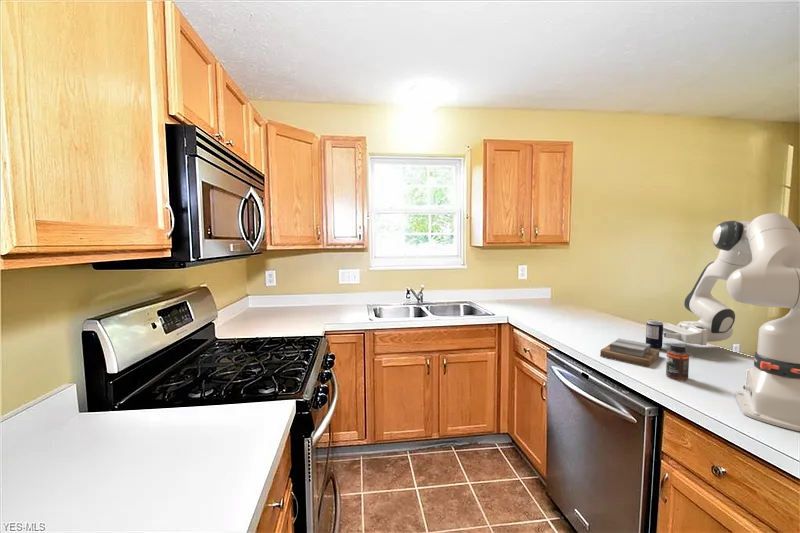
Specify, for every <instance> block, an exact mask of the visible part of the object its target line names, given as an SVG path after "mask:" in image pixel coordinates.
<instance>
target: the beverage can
mask: <svg viewBox="0 0 800 533" xmlns="http://www.w3.org/2000/svg"><path fill="white" fill-rule="evenodd" d="M663 323H664V322H663V321H662V320H660V319H656V318H655V319H650V318H649V319H647V322H646V328H645V343H647V344H651V345H650V349H655V350H661V349H662V348H663V338H664V335H663Z"/></svg>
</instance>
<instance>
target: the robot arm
mask: <svg viewBox="0 0 800 533" xmlns="http://www.w3.org/2000/svg"><path fill="white" fill-rule="evenodd" d="M712 241H713V246H714V247H715V248H717V249H719V252H718V255H717V258H716V259H715V260H714V261H711V262H710V263H708V264H707V265H706V266H705V267H704V268H703V270H702V272H701V273H700V275H699V277H698V279H697V280H696V282H695V284H694V286H693V288H692V289H691V291H690V292H689V293H688V294H687V296H685V299H684V303H683V304H684V307H685V309H686V310H687V311H689V312H690V313H692V314H694V315H695V316H697V317H698V318H699V320H696V321H695V320H687V321H686V320H684V321H679V323H678V324H677V325H676V324H674V323H669V322H662V323H663V338H666V339H673V340H677V341H680V342H683V343H686V344H692V345H701V346H706V345H707V343H713V342H714V343H715V342H721V341H726V340H728V339H730V338H731V337H732V336H733V335H734V334H733V333H734V329H733V326H734V323H735V321H736V313H735V311H734V310H733V309H731V308H730V307H729V306H727V305H726V304H724V303H723V302H721V301H719V300H718V299H717V298H715V297H713V295H712V293H711V292H712V289H713V288H714V286H715V285H716V284H717V281H718V280H723V281H726V284H725V286H726V287H725V288H726V291H727V293H728V295H729V296H730V297H731V298H732V300H734V301H735V302H738V303H742V304H747V305H752V306H756V307H766V308H767V307H770V308H772V307H773V308H783V309H785V308H786V309H790V310H789V312H788V313H787V314H785V315H784V316H782V317H779V318H775V319H773V320H769V321H766V322H765V323H763V324H762V325H761V326H760V327H759V328H758V334H757V348H756V351H755V352H754V355H753V366H752V367H750V368H748V369H747V368H746V376H745V384H744V385H743V387H742V388H743V390H744V391H738V390H737V391H735V392H734V397H735V399H736V401H737V403H738V406H739V408H740V411H741V413H742V415H744V416H747V417H749V418H752V419H754V420H758V421H760V422H764V423H766V424H769V425H774V426H777V427H780V428H785V429H787V430H791V431H796V432H800V226H799V225H795V223H794V222H793V221H792V220H791V219H790V218H789V217H787V215H784V214H782V213H776V212H774V213H773V212H771V213H770V212H769V213H764V214H761V215H758V216H756V217H755V218H753V220H747V221H746V220H741V221H739V220H738V221H737V220H727V221H726V220H725V221H722V222H721V223H719V224H718V225H717V226H716V228H715V229H714V231H713V232H712Z"/></svg>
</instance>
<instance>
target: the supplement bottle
mask: <svg viewBox="0 0 800 533" xmlns="http://www.w3.org/2000/svg"><path fill="white" fill-rule="evenodd" d="M686 346H687V345H685V344H681V343H673V342H672V343H670V348H669V349H668V350H667V351H666V363H665V364H666V365H665V375H666V377H667V378H670V379H672V380H675V381H687V380H688V379H689V374H690V373H689V372H690V371H689V366H690V354H689V352H688V351H686V349H687V347H686Z"/></svg>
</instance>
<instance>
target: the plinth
mask: <svg viewBox="0 0 800 533" xmlns="http://www.w3.org/2000/svg"><path fill="white" fill-rule="evenodd" d="M650 345H651V344H647V343H646V342H641V341H634V340H631V339H624V338H620V337H619V338H617V339H616V340H614V341H613V342H611V343H609V344H608V345H607V346H605V347H604V348H602V349H600V356H599V357H601V356H603V357H602V358H605V357H607V358H606V359H610V358H612V359H611V360H614V359H616V360H615V361H619V360H620V361H619V362H623V363H627V364H633V365H637V366H641V367H646V368H649V367H650V366H651V365H653V363H654V362H655V361H656V360H658V359H659V358H660V350H661V349H660V350H655V349H650Z"/></svg>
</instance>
